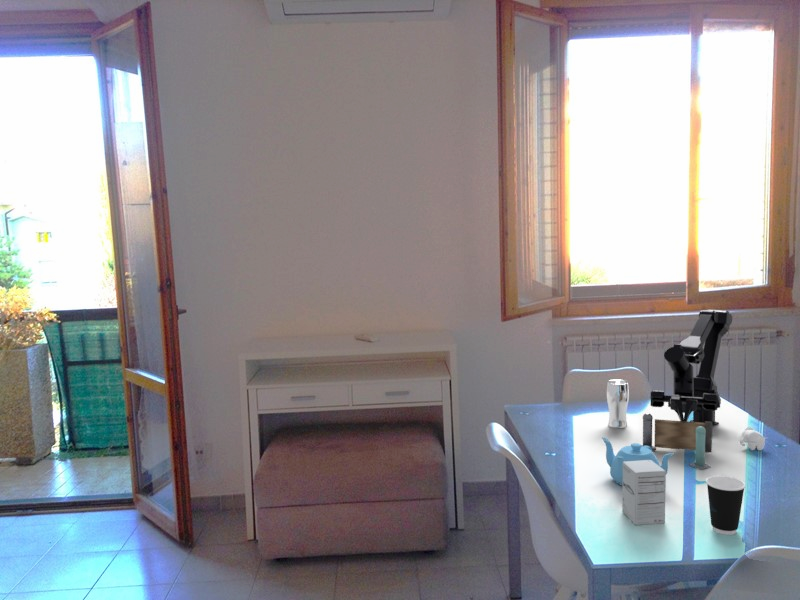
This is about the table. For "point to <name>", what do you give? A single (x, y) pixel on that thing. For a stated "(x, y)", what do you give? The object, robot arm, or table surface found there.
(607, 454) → the teapot
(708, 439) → the gate
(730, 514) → the dixie cup
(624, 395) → the beer glass
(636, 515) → the supplement box
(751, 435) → the elephant figurine
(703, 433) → the post
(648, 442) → the hinge post
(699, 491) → the table surface
